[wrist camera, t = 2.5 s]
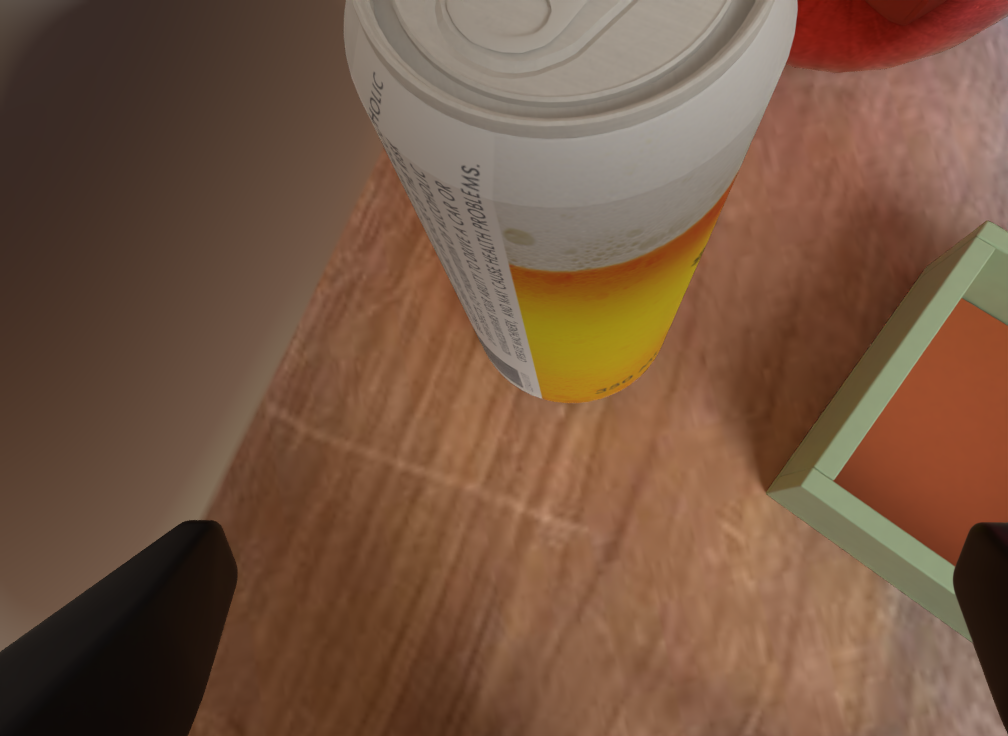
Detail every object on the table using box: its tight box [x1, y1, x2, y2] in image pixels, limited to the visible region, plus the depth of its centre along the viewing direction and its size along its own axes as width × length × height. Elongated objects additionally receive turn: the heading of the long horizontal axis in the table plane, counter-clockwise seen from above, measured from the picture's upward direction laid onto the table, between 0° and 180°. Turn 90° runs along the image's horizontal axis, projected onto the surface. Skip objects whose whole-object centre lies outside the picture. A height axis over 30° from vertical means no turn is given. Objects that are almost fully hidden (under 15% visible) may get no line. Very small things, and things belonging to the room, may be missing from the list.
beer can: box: [344, 0, 798, 403], centre depth 15 cm, size 6×6×15 cm
